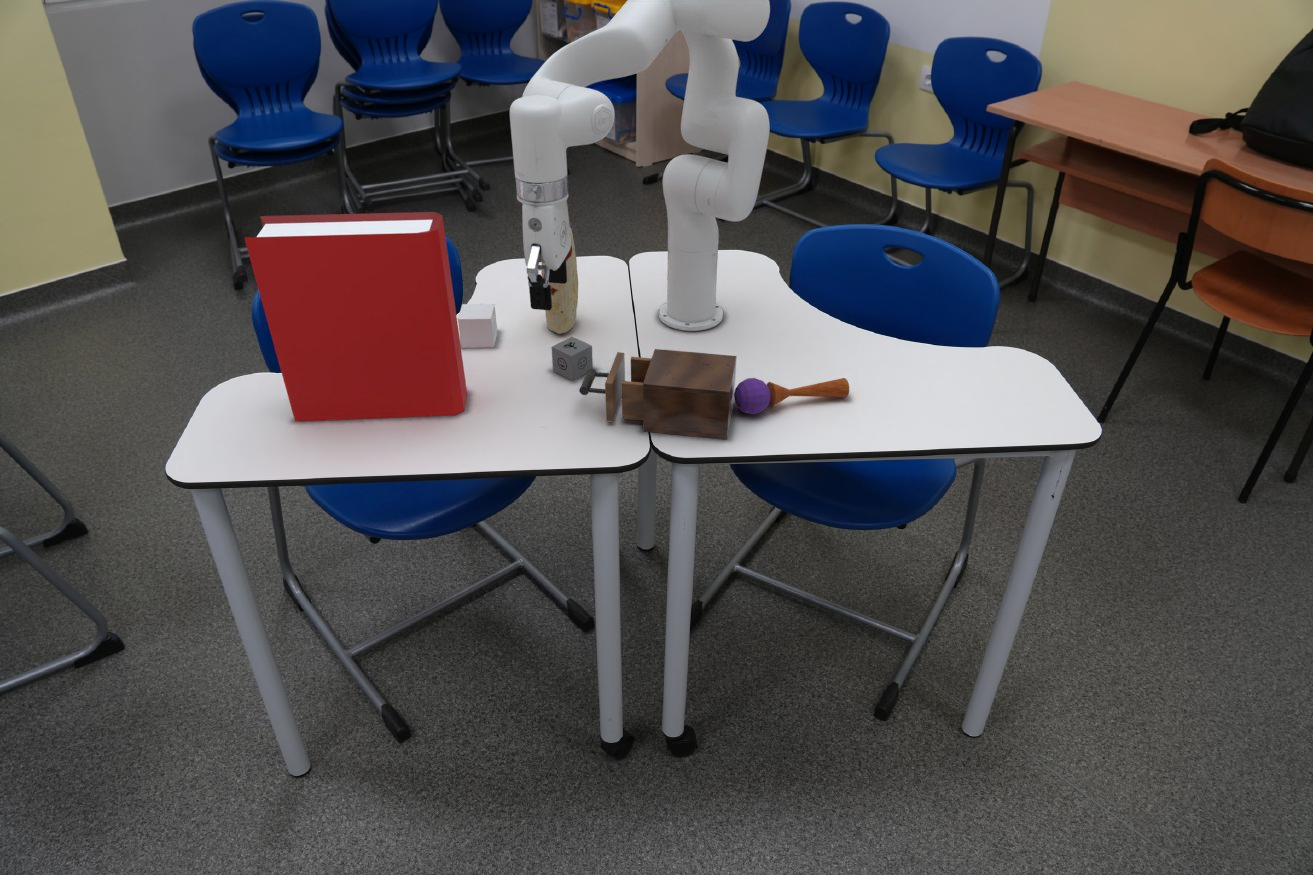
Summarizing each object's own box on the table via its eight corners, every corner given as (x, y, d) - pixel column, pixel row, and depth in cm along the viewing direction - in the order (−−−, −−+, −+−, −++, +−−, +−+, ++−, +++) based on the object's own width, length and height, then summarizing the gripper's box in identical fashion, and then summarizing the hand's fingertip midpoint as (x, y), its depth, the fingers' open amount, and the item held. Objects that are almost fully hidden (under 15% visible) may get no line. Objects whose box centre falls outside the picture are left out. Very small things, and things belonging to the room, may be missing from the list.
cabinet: (643, 431, 146) (642, 383, 141) (654, 395, 155) (654, 348, 150) (727, 439, 144) (729, 391, 139) (733, 402, 153) (736, 355, 148)
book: (295, 421, 148) (244, 237, 130) (306, 395, 155) (259, 216, 136) (463, 415, 150) (437, 232, 131) (467, 389, 156) (443, 211, 138)
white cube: (494, 347, 168) (490, 318, 165) (461, 348, 168) (457, 319, 165) (497, 331, 173) (494, 303, 170) (466, 332, 173) (462, 304, 170)
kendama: (856, 386, 150) (745, 396, 145) (846, 412, 154) (737, 423, 149) (842, 363, 154) (733, 372, 149) (833, 389, 158) (726, 398, 153)
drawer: (577, 418, 148) (575, 380, 144) (590, 386, 156) (589, 349, 151) (682, 428, 145) (683, 390, 141) (690, 395, 153) (691, 358, 149)
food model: (577, 338, 171) (572, 238, 160) (542, 337, 171) (534, 238, 160) (582, 314, 179) (577, 217, 168) (548, 313, 179) (541, 217, 168)
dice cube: (573, 360, 165) (571, 336, 162) (592, 370, 162) (591, 345, 159) (553, 371, 162) (551, 346, 159) (572, 381, 159) (571, 356, 156)
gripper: (551, 210, 124) (558, 323, 134) (581, 169, 138) (585, 273, 148) (498, 207, 125) (509, 319, 135) (533, 166, 139) (541, 270, 149)
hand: (549, 295), depth 141 cm, fingers open, 8 cm apart
